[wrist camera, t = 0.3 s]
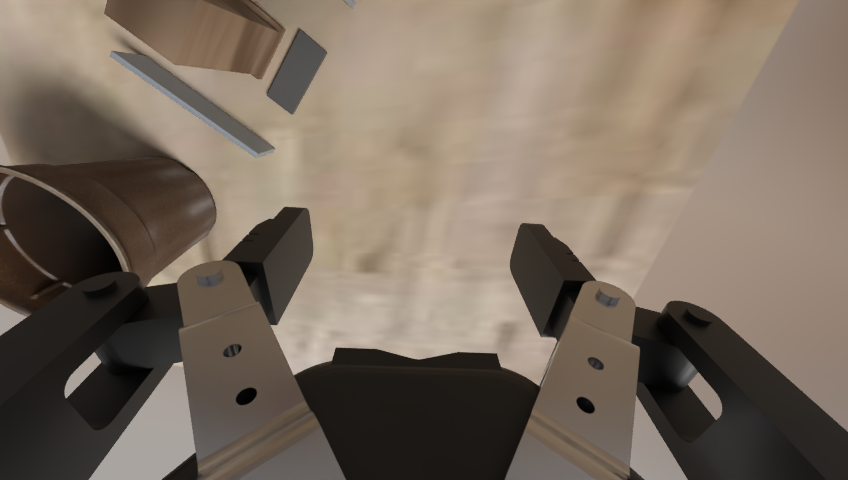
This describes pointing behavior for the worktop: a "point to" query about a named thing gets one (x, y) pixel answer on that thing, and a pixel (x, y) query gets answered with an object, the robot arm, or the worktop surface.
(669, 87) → the worktop surface
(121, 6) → the walnut post stand
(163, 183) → the plant pot
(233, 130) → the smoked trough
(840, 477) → the robot arm
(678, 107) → the worktop surface
